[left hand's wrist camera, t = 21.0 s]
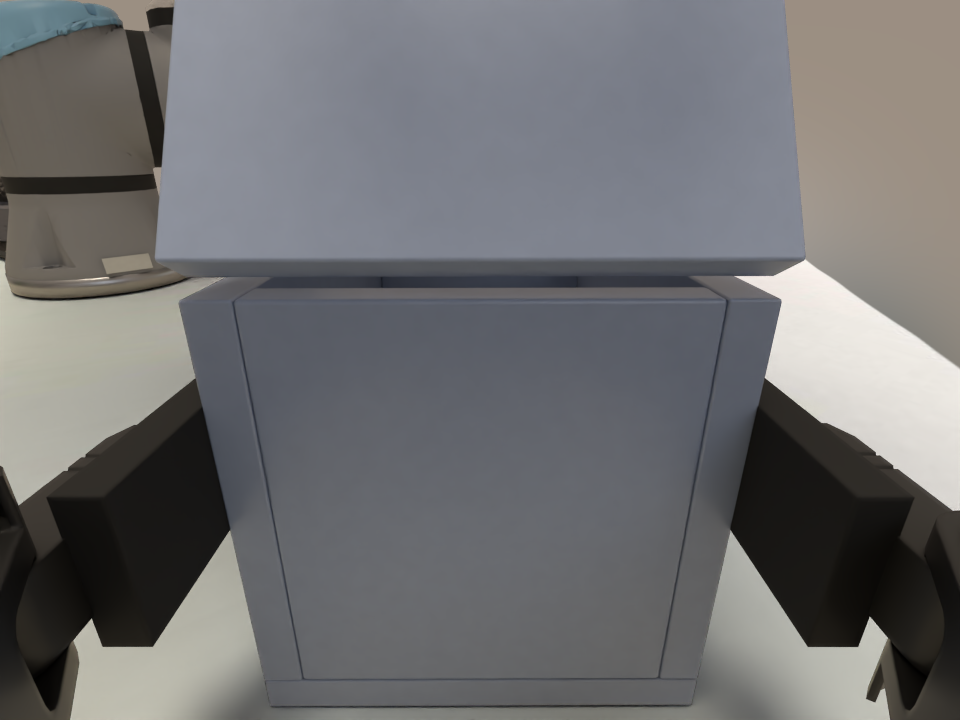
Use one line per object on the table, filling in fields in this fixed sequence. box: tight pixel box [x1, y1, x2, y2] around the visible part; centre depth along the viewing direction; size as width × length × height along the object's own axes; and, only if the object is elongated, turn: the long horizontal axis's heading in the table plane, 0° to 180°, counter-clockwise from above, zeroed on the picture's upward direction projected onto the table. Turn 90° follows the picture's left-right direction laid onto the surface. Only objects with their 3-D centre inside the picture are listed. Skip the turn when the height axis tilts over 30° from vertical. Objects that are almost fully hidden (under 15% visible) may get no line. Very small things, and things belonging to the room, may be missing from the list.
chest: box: [179, 276, 781, 706], centre depth 17 cm, size 14×10×10 cm
